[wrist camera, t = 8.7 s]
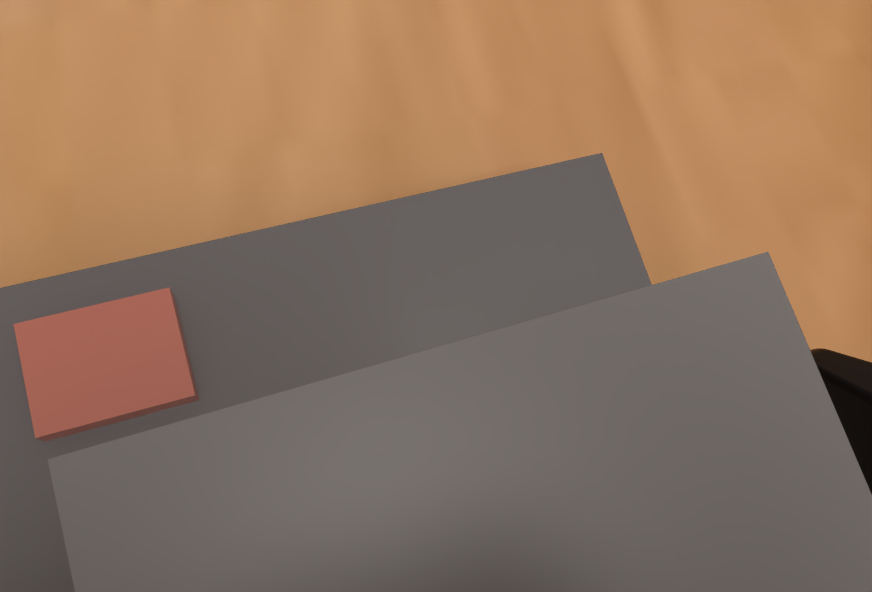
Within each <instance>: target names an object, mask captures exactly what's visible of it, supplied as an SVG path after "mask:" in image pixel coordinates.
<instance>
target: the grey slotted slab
mask: <svg viewBox="0 0 872 592" xmlns="http://www.w3.org/2000/svg"><path fill="white" fill-rule="evenodd" d="M648 286H651V282H650V279H649V277H648V274H647V271H646V269H645V266H644V263H643V261H642V258H641V255H640V253H639V250H638V247H637V245H636V242H635V240H634V237H633V234H632V232H631V229H630V226H629V224H628V221H627V218H626V216H625V213H624V210H623V208H622V205H621V202H620V200H619V197H618V194H617V192H616V189H615V186H614V184H613V181H612V178H611V176H610V173H609V170H608V168H607V165H606V162H605V160H604V157H603V154H602V153H600V154H595V155H591V156H586V157H582V158H577V159H573V160H569V161H564V162H560V163H555V164H551V165H546V166H542V167H537V168H533V169H528V170H524V171H520V172H515V173H511V174H506V175H502V176H497V177H493V178H488V179H484V180H480V181H475V182H471V183H466V184H462V185H457V186H453V187H448V188H444V189H439V190H435V191H431V192H426V193H422V194H417V195H413V196H408V197H404V198H399V199H395V200H390V201H386V202H382V203H377V204H373V205H368V206H364V207H359V208H355V209H350V210H346V211H342V212H337V213H333V214H328V215H324V216H319V217H315V218H310V219H306V220H301V221H297V222H293V223H288V224H284V225H279V226H275V227H270V228H266V229H261V230H257V231H252V232H248V233H244V234H239V235H235V236H230V237H226V238H221V239H217V240H212V241H208V242H204V243H199V244H195V245H190V246H186V247H181V248H177V249H172V250H168V251H163V252H159V253H155V254H150V255H146V256H141V257H137V258H132V259H128V260H123V261H119V262H114V263H110V264H106V265H101V266H97V267H92V268H88V269H83V270H79V271H74V272H70V273H66V274H61V275H57V276H52V277H48V278H43V279H39V280H34V281H30V282H25V283H21V284H17V285H12V286H8V287H3V288H0V592H75V589H74V584H73V579H72V574H71V570H70V565H69V560H68V555H67V551H66V546H65V541H64V536H63V531H62V527H61V522H60V517H59V512H58V507H57V503H56V498H55V493H54V488H53V483H52V479H51V474H50V469H49V464H48V460H47V459H50V458H54V457H57V456H61V455H64V454H68V453H71V452H75V451H78V450H82V449H85V448H89V447H92V446H96V445H99V444H103V443H106V442H109V441H113V440H116V439H120V438H123V437H127V436H130V435H134V434H137V433H141V432H144V431H148V430H151V429H155V428H158V427H162V426H165V425H169V424H172V423H175V422H179V421H182V420H186V419H189V418H193V417H196V416H200V415H203V414H207V413H210V412H214V411H217V410H221V409H224V408H228V407H231V406H234V405H238V404H241V403H245V402H248V401H252V400H255V399H259V398H262V397H266V396H269V395H273V394H276V393H280V392H283V391H287V390H290V389H293V388H297V387H300V386H304V385H307V384H311V383H314V382H318V381H321V380H325V379H328V378H332V377H335V376H339V375H342V374H346V373H349V372H353V371H356V370H359V369H363V368H366V367H370V366H373V365H377V364H380V363H384V362H387V361H391V360H394V359H398V358H401V357H405V356H408V355H412V354H415V353H418V352H422V351H425V350H429V349H432V348H436V347H439V346H443V345H446V344H450V343H453V342H457V341H460V340H464V339H467V338H471V337H474V336H477V335H481V334H484V333H488V332H491V331H495V330H498V329H502V328H505V327H509V326H512V325H516V324H519V323H523V322H526V321H530V320H533V319H537V318H540V317H543V316H547V315H550V314H554V313H557V312H561V311H564V310H568V309H571V308H575V307H578V306H582V305H585V304H589V303H592V302H596V301H599V300H602V299H606V298H609V297H613V296H616V295H620V294H623V293H627V292H630V291H634V290H637V289H641V288H644V287H648Z"/></svg>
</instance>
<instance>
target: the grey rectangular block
mask: <svg viewBox="0 0 872 592" xmlns="http://www.w3.org/2000/svg"><path fill="white" fill-rule="evenodd" d="M47 460H48V464H49V469H50V474H51V479H52V483H53V488H54V493H55V498H56V503H57V507H58V512H59V517H60V522H61V527H62V531H63V536H64V541H65V546H66V551H67V555H68V560H69V565H70V570H71V574H72V579H73V584H74V589H75V592H872V494H871V492H870V490H869V487H868V485H867V483H866V480H865V478H864V475H863V473H862V471H861V468H860V466H859V464H858V461H857V459H856V457H855V454H854V452H853V450H852V447H851V445H850V443H849V440H848V438H847V436H846V433H845V431H844V429H843V426H842V424H841V422H840V419H839V417H838V414H837V412H836V410H835V407H834V405H833V403H832V400H831V398H830V396H829V393H828V391H827V389H826V386H825V384H824V382H823V379H822V377H821V375H820V372H819V370H818V368H817V365H816V363H815V361H814V358H813V356H812V354H811V351H810V349H809V346H808V344H807V342H806V339H805V337H804V335H803V332H802V330H801V328H800V325H799V323H798V321H797V318H796V316H795V314H794V311H793V309H792V307H791V304H790V302H789V300H788V297H787V295H786V293H785V290H784V288H783V286H782V283H781V281H780V278H779V276H778V274H777V271H776V269H775V267H774V264H773V262H772V260H771V257H770V255H769V253H768V252H766V253H762V254H759V255H755V256H752V257H748V258H745V259H741V260H738V261H734V262H731V263H727V264H724V265H721V266H717V267H714V268H710V269H707V270H703V271H700V272H696V273H693V274H689V275H686V276H682V277H679V278H675V279H672V280H668V281H665V282H661V283H658V284H655V285H651V286H648V287H644V288H641V289H637V290H634V291H630V292H627V293H623V294H620V295H616V296H613V297H609V298H606V299H602V300H599V301H596V302H592V303H589V304H585V305H582V306H578V307H575V308H571V309H568V310H564V311H561V312H557V313H554V314H550V315H547V316H543V317H540V318H537V319H533V320H530V321H526V322H523V323H519V324H516V325H512V326H509V327H505V328H502V329H498V330H495V331H491V332H488V333H484V334H481V335H477V336H474V337H471V338H467V339H464V340H460V341H457V342H453V343H450V344H446V345H443V346H439V347H436V348H432V349H429V350H425V351H422V352H418V353H415V354H412V355H408V356H405V357H401V358H398V359H394V360H391V361H387V362H384V363H380V364H377V365H373V366H370V367H366V368H363V369H359V370H356V371H353V372H349V373H346V374H342V375H339V376H335V377H332V378H328V379H325V380H321V381H318V382H314V383H311V384H307V385H304V386H300V387H297V388H293V389H290V390H287V391H283V392H280V393H276V394H273V395H269V396H266V397H262V398H259V399H255V400H252V401H248V402H245V403H241V404H238V405H234V406H231V407H228V408H224V409H221V410H217V411H214V412H210V413H207V414H203V415H200V416H196V417H193V418H189V419H186V420H182V421H179V422H175V423H172V424H169V425H165V426H162V427H158V428H155V429H151V430H148V431H144V432H141V433H137V434H134V435H130V436H127V437H123V438H120V439H116V440H113V441H109V442H106V443H103V444H99V445H96V446H92V447H89V448H85V449H82V450H78V451H75V452H71V453H68V454H64V455H61V456H57V457H54V458H50V459H47Z"/></svg>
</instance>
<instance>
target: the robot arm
mask: <svg viewBox="0 0 872 592" xmlns="http://www.w3.org/2000/svg"><path fill="white" fill-rule="evenodd" d="M810 351H811V354H812V356H813V358H814V361H815V363H816V365H817V368H818V370H819V372H820V375H821V377H822V379H823V382H824V384H825V386H826V389H827V391H828V393H829V396H830V398H831V400H832V403H833V405H834V407H835V410H836V412H837V414H838V417H839V419H840V422H841V424H842V426H843V429H844V431H845V433H846V436H847V438H848V440H849V443H850V445H851V447H852V450H853V452H854V454H855V457H856V459H857V461H858V464H859V466H860V468H861V471H862V473H863V475H864V478H865V480H866V483H867V485H868V487H869V490H870V492H871V494H872V363H871V362H868V361H864V360H861V359H858V358H854V357H851V356H847V355H844V354H841V353H837V352H834V351H831V350H827V349H820V348H819V349H813V350H810Z"/></svg>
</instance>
